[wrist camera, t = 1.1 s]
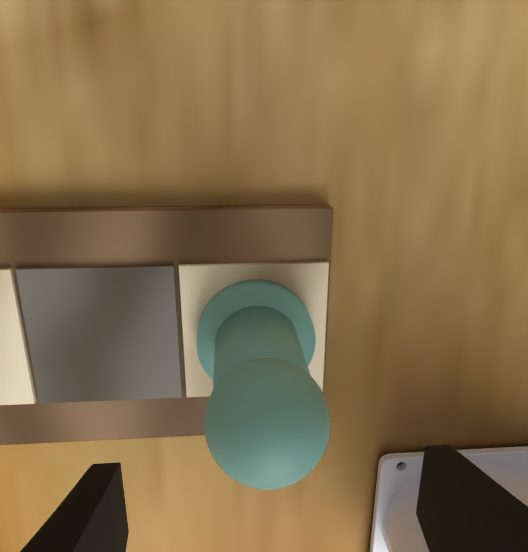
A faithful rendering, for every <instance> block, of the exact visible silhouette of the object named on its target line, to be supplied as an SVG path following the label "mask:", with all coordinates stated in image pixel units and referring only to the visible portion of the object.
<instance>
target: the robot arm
mask: <svg viewBox="0 0 528 552" xmlns="http://www.w3.org/2000/svg"><path fill="white" fill-rule="evenodd" d="M400 462H403V463H402V464H401V465H397V464H398V463H400ZM128 532H129V531H128V523H127V514H126V506H125V498H124V490H123V481H122V473H121V465H120V463H104V464H93V465H92V466H91V467H90V468H89V469H88V470H87V471H86V472H85V474H84V475H83V476H82V478H81V479H80V480H79V481H78V483H77V484H76V485H75V487H74V488H73V489H72V490H71V492H70V493H69V494H68V495H67V497H66V498H65V499H64V500H63V502H62V503H61V504H60V505H59V507H58V508H57V509H56V510H55V511H54V513H53V514H52V515H51V516H50V518H49V519H48V520H47V521H46V522H45V523H44V525H43V526H42V527H41V528H40V529H39V530H38V532H37V533H36V534H35V535H34V536H33V538H32V539H31V540H30V541H29V542H28V543H27V545H26V546H25V547H24V548H23V549H22V550H21V551H20V552H125V551H126V545H127V538H128ZM370 552H528V446H522V447H503V448H484V449H465V450H455V449H454V448H453V447H451V446H450V445H441V446H425V450H424V452H409V453H390V454H386V455H384V456H382V457H381V458H380V460H379V464H378V474H377V484H376V494H375V503H374V513H373V523H372V533H371V543H370Z"/></svg>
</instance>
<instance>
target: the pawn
mask: <svg viewBox="0 0 528 552" xmlns="http://www.w3.org/2000/svg"><path fill="white" fill-rule="evenodd" d="M315 343H316V338H315V330H314V326H313V323H312V320H311V318H310V316H309V313H308V311H307V309H306V307H305V305H304V304H303V302H302V301H301V299H300V298H299V297H298V296H297V295H296V294H295V293H294V292H292V291H291V290H290V289H288V288H287V287H285V286H283V285H281V284H278V283H276V282H272V281H268V280H260V279H252V280H245V281H240V282H237V283H234V284H231V285H229V286H227V287H225V288H224V289H222V290H221V291H219V292H218V293H217V294H216V295H215V296H213V298H212V299H211V300H210V301H209V302H208V304H207V305H206V307H205V308H204V310H203V312H202V314H201V317H200V320H199V326H198V333H197V354H198V357H199V360H200V363H201V365H202V367H203V369H204V370H205V372H206V373H207V374H208V376H209V377H210V378H211V379H212V380H213V391H212V393H211V395H210V397H209V400H208V403H207V406H206V412H205V418H204V429H205V437H206V440H207V444H208V447H209V450H210V452H211V454H212V456H213V458H214V460H215V461H216V463H217V464H218V465H219V467H220V468H221V469H222V470H223V471H224V472H225V473H226V474H227V475H228V476H230V477H231V478H232V479H234V480H235V481H237V482H239V483H241V484H243V485H245V486H248V487H251V488H256V489H262V490H273V489H280V488H284V487H287V486H290V485H292V484H294V483H296V482H298V481H299V480H301V479H303V478H304V477H305V476H307V475H308V474H309V473H310V472H311V471H312V470H313V469H314V467H315V466H316V465H317V464H318V462H319V461H320V459H321V458H322V456H323V453H324V451H325V449H326V447H327V443H328V439H329V434H330V414H329V409H328V404H327V401H326V399H325V396H324V394H323V392H322V390H321V388H320V387H319V385H318V384H317V383H316V381H315V380H314V379H313V378H312V377H311V375H310V372H309V369H308V366H309V364H310V362H311V360H312V357H313V354H314V350H315Z"/></svg>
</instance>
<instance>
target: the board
mask: <svg viewBox="0 0 528 552" xmlns="http://www.w3.org/2000/svg"><path fill="white" fill-rule="evenodd" d="M332 221H333V208H332V207H331V206H329V205H272V206H187V207H102V208H17V209H0V445H11V444H32V443H52V442H73V441H94V440H114V439H135V438H155V437H176V436H196V435H205V429H204V418H205V412H206V406H207V403H208V400H209V397H210V395H211V393H212V391H213V380H212V379H211V378H210V377H209V376H208V374H207V373H206V372H205V370H204V369H203V367H202V365H201V363H200V360H199V357H198V354H197V333H198V326H199V320H200V317H201V314H202V312H203V310H204V308H205V307H206V305H207V304H208V302H209V301H210V300H211V299H212V298H213V296H215V295H216V294H217V293H218V292H219V291H221V290H222V289H224V288H225V287H227V286H229V285H231V284H234V283H237V282H240V281H245V280H252V279H260V280H268V281H272V282H276V283H278V284H281V285H283V286H285V287H287V288H288V289H290V290H291V291H292V292H294V293H295V294H296V295H297V296H298V297H299V298H300V299H301V301H302V302H303V304H304V305H305V307H306V309H307V311H308V313H309V316H310V318H311V320H312V323H313V326H314V330H315V338H316V343H315V350H314V354H313V357H312V360H311V362H310V364H309V366H308V369H309V372H310V375H311V377H312V378H313V379H314V380H315V381H316V383H317V384H318V385H319V387H320V388H321V390H322V392H323V394H324V377H325V357H326V338H327V318H328V299H329V279H330V260H331V240H332Z"/></svg>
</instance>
